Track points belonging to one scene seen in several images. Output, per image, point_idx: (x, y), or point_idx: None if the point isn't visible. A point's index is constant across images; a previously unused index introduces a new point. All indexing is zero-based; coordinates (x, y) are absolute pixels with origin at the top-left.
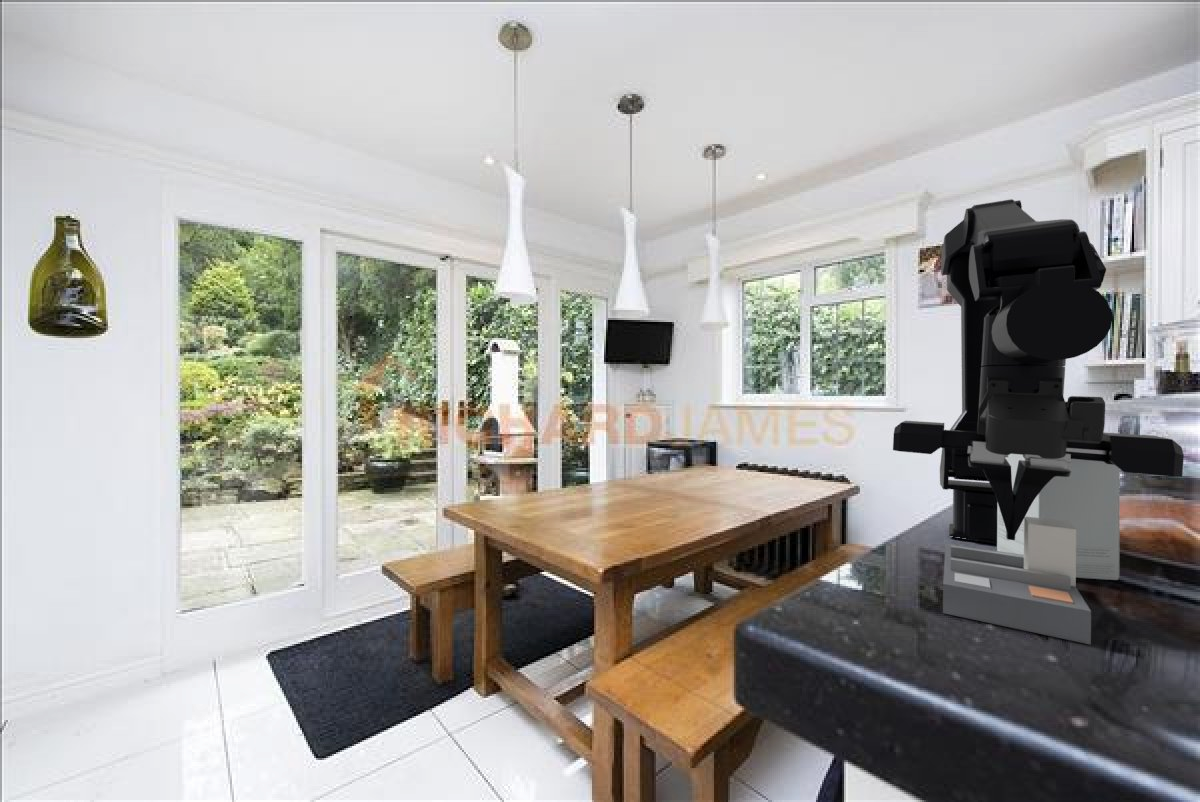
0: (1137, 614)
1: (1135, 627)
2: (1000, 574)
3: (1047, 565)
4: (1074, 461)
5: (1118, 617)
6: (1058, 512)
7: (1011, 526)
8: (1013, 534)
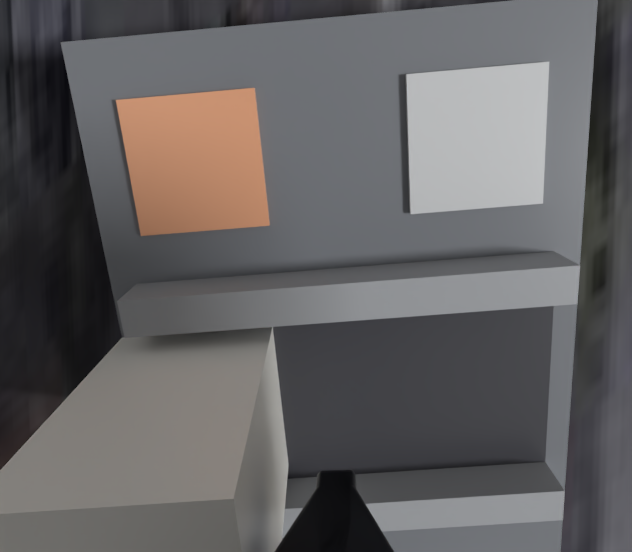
0: None
1: (25, 328)
2: (368, 273)
3: (192, 361)
4: None
5: (64, 387)
6: None
7: (337, 513)
8: (324, 487)
